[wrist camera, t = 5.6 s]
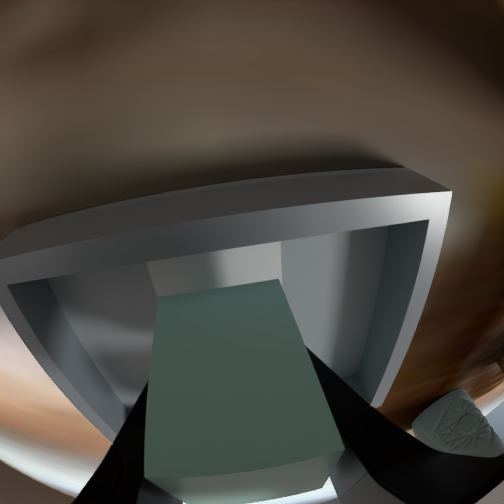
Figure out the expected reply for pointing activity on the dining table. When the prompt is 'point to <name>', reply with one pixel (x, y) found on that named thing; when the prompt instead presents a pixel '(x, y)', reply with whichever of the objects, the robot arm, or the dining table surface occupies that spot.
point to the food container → (501, 362)
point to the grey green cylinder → (457, 427)
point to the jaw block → (235, 400)
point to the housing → (227, 275)
